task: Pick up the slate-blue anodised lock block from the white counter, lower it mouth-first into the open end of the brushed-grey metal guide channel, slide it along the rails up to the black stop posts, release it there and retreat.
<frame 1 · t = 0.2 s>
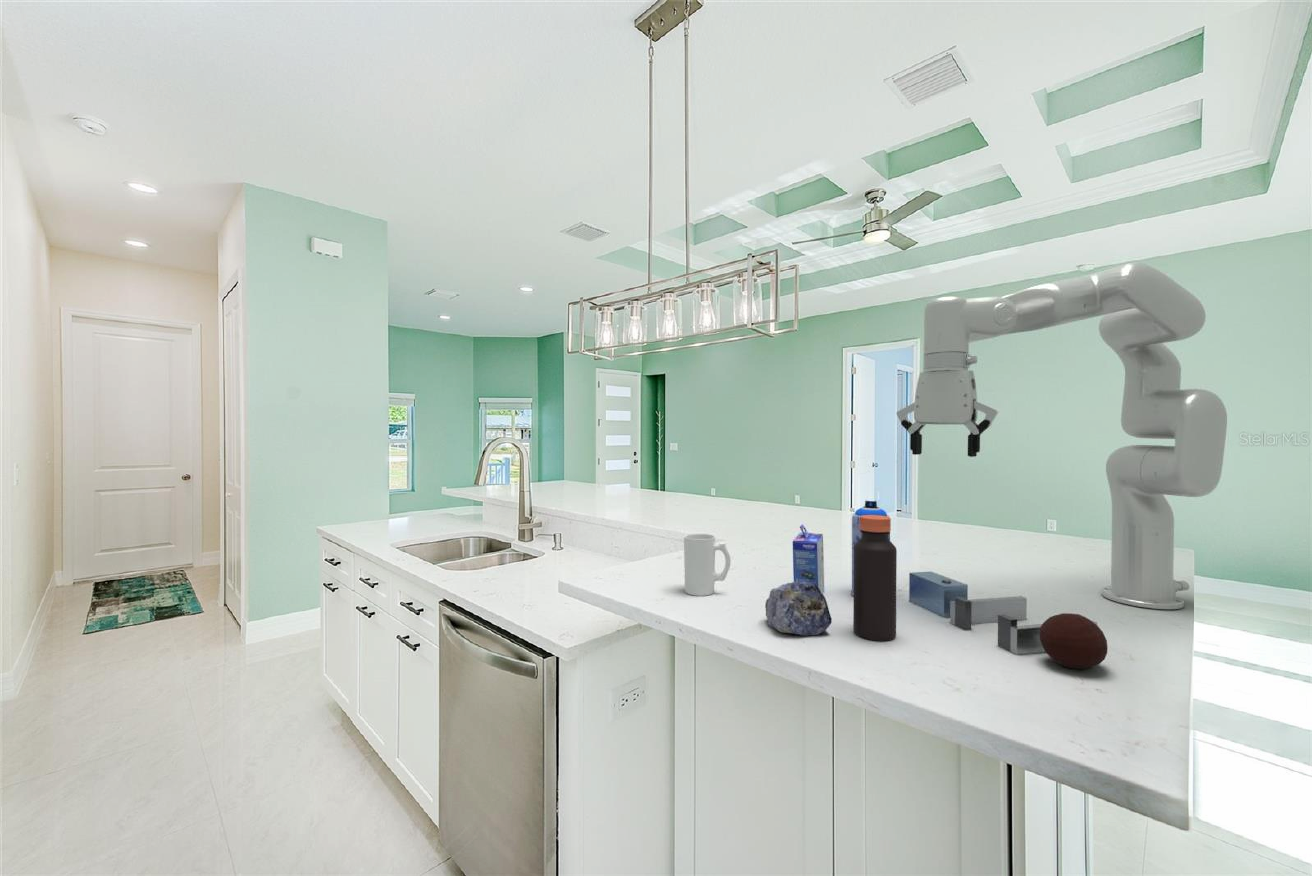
hand: (943, 455, 105), 30 cm above the table, fingers open, 9 cm apart
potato: (1073, 667, 82), on the table
aerosol can: (870, 596, 116), on the table
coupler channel: (1019, 634, 94), on the table
lock block: (937, 609, 108), on the table
ink cartridge box: (808, 594, 118), on the table
bottle: (874, 635, 94), on the table
rock: (793, 628, 98), on the table
mug: (707, 593, 119), on the table
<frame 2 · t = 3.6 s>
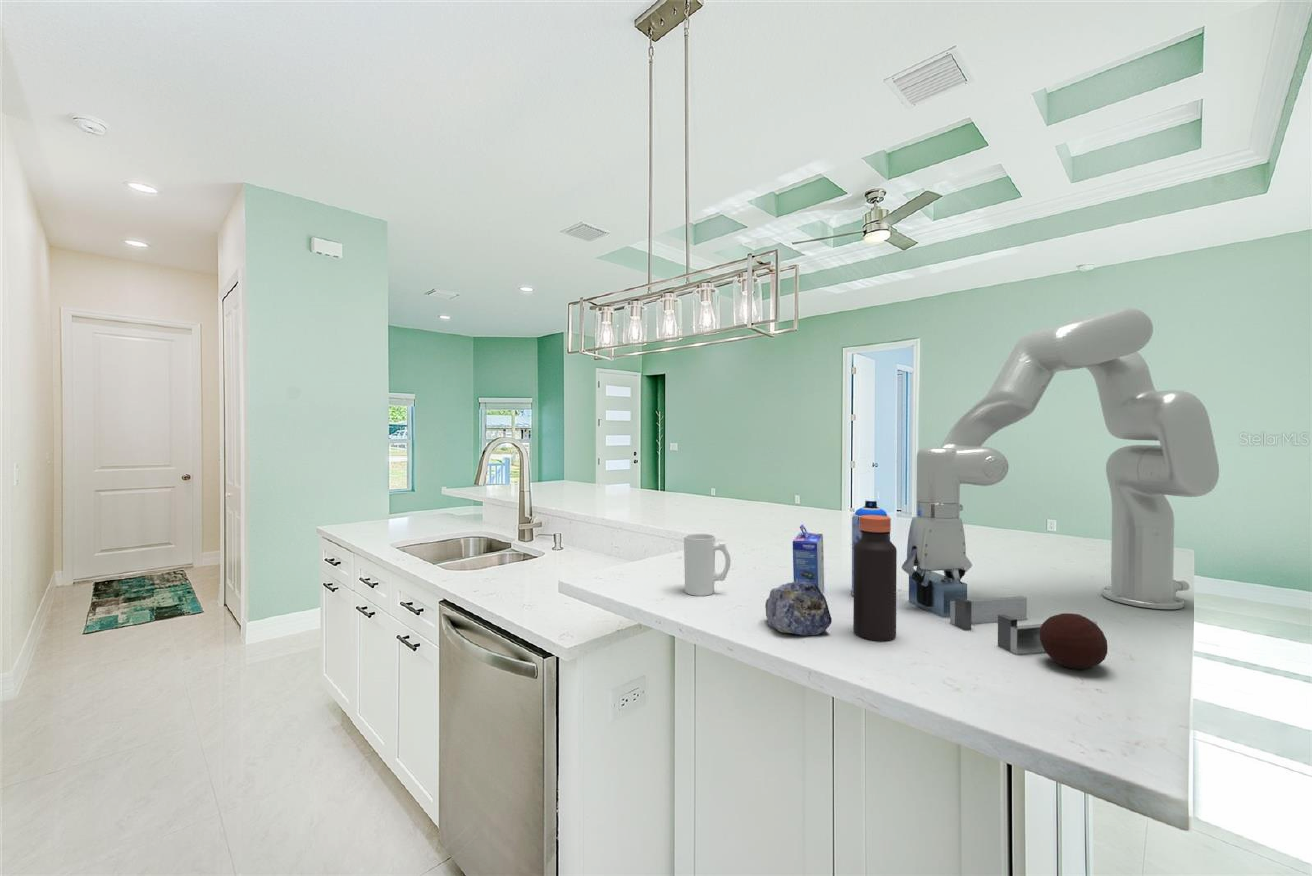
hand: (936, 603, 108), 1 cm above the table, fingers closed on lock block, 5 cm apart
lock block: (936, 608, 108), on the table, touching gripper
everything else where it was.
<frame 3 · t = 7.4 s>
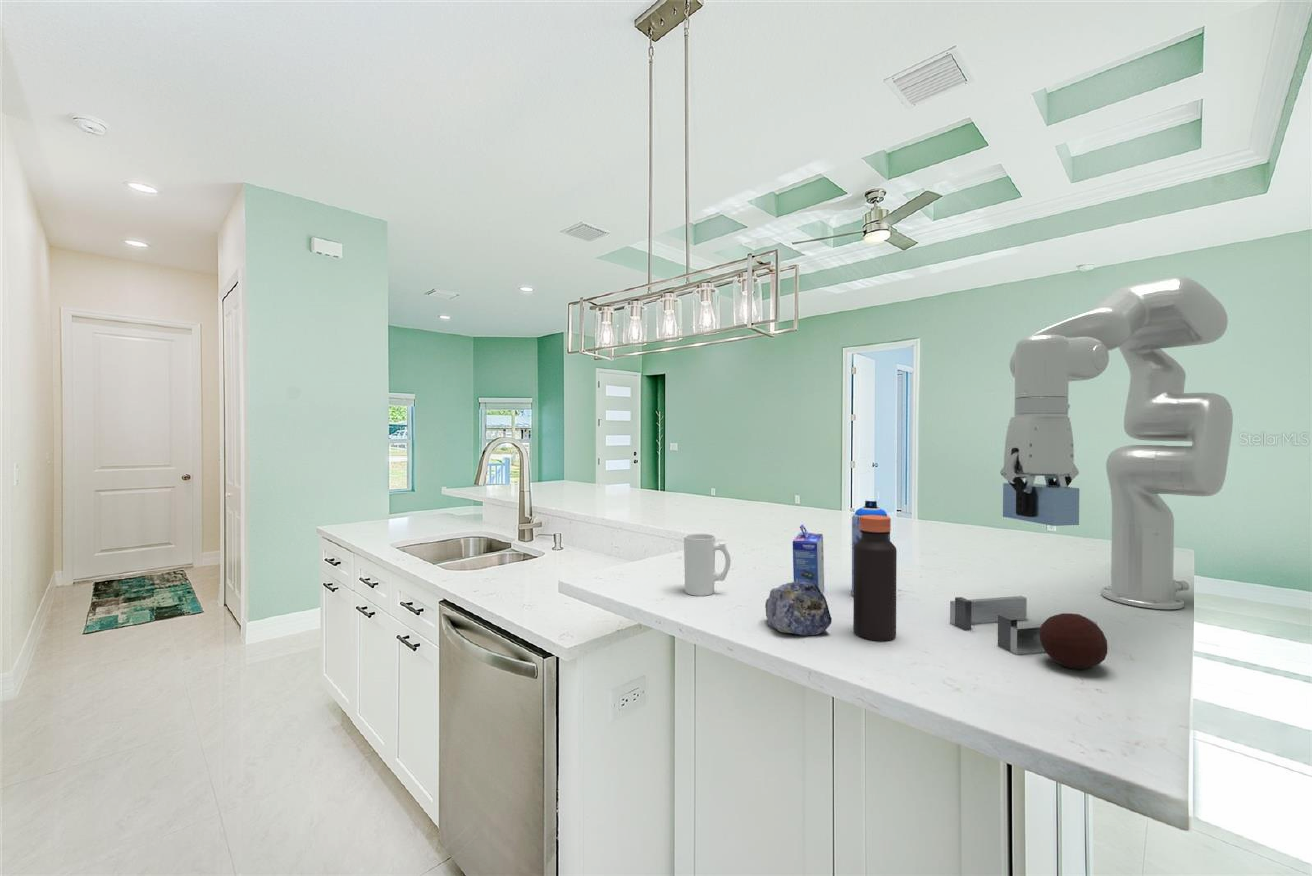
hand: (1039, 514, 95), 20 cm above the table, fingers closed on lock block, 5 cm apart
lock block: (1039, 520, 95), point 19 cm above the table, touching gripper
everything else where it was.
when the fingers open (1 cm above the table, at t = 11.5 s): lock block stays where it is, on the table.
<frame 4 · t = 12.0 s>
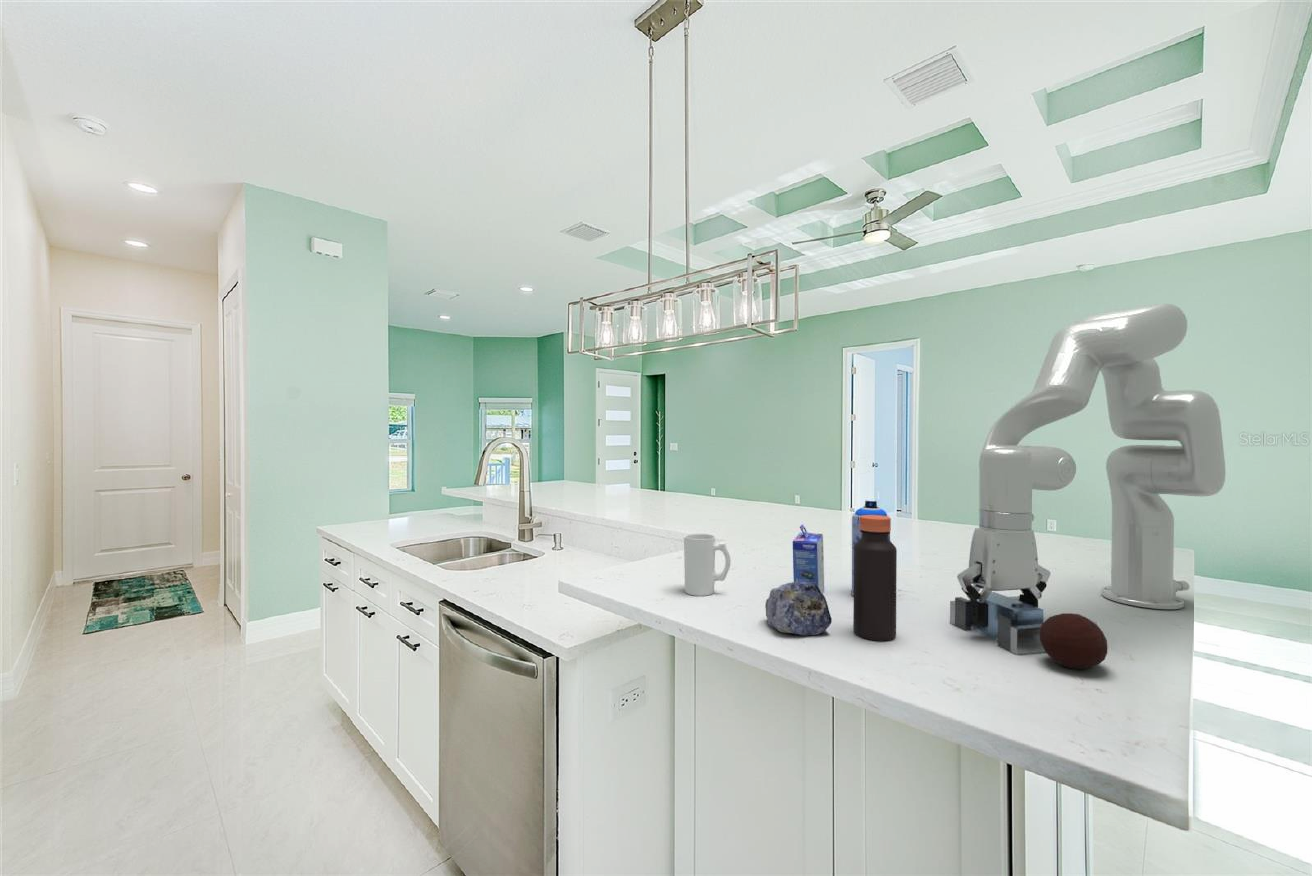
hand: (1004, 622, 93), 2 cm above the table, fingers open, 9 cm apart
lock block: (1004, 636, 94), on the table
everything else where it was.
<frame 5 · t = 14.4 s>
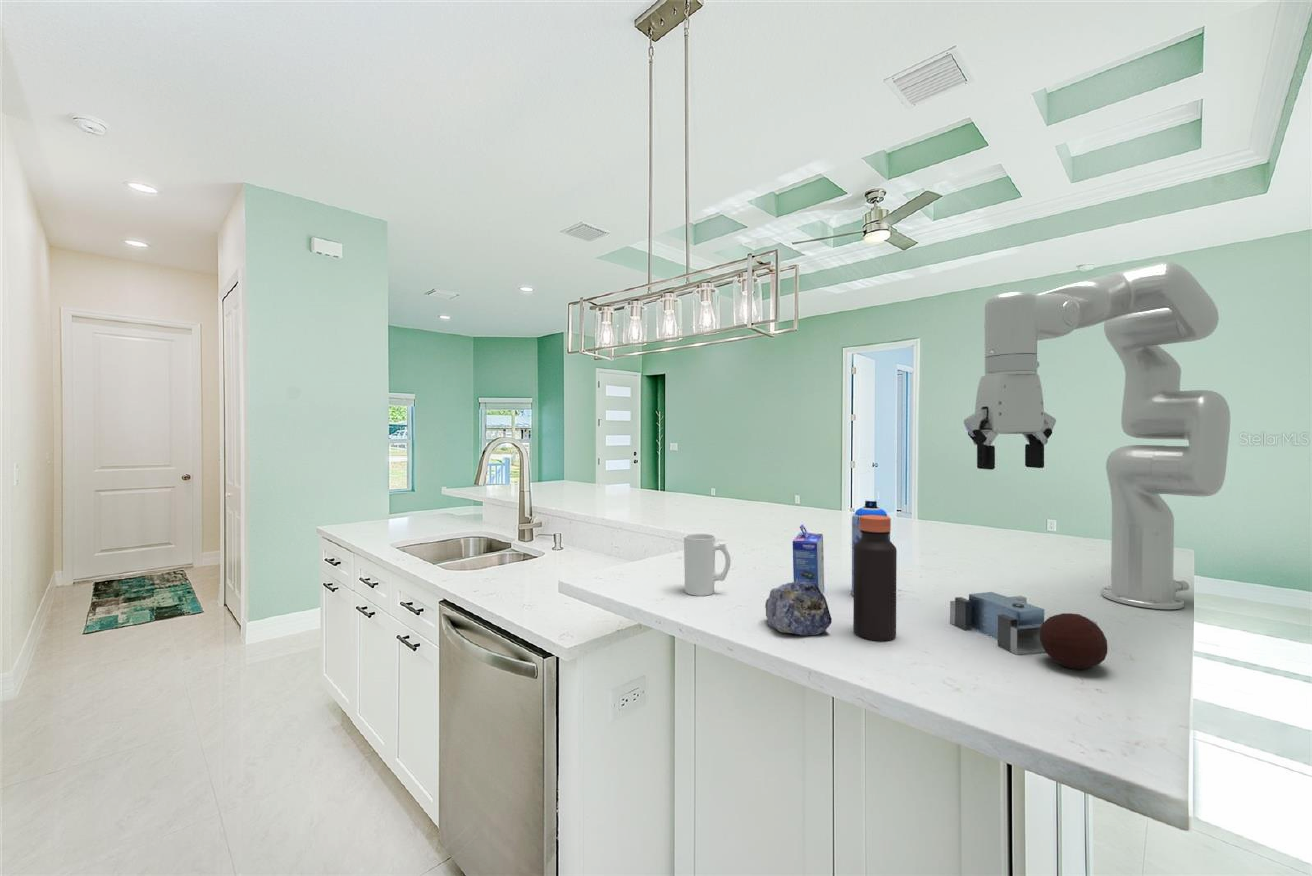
hand: (1010, 468, 94), 28 cm above the table, fingers open, 9 cm apart
nothing on the table moved.
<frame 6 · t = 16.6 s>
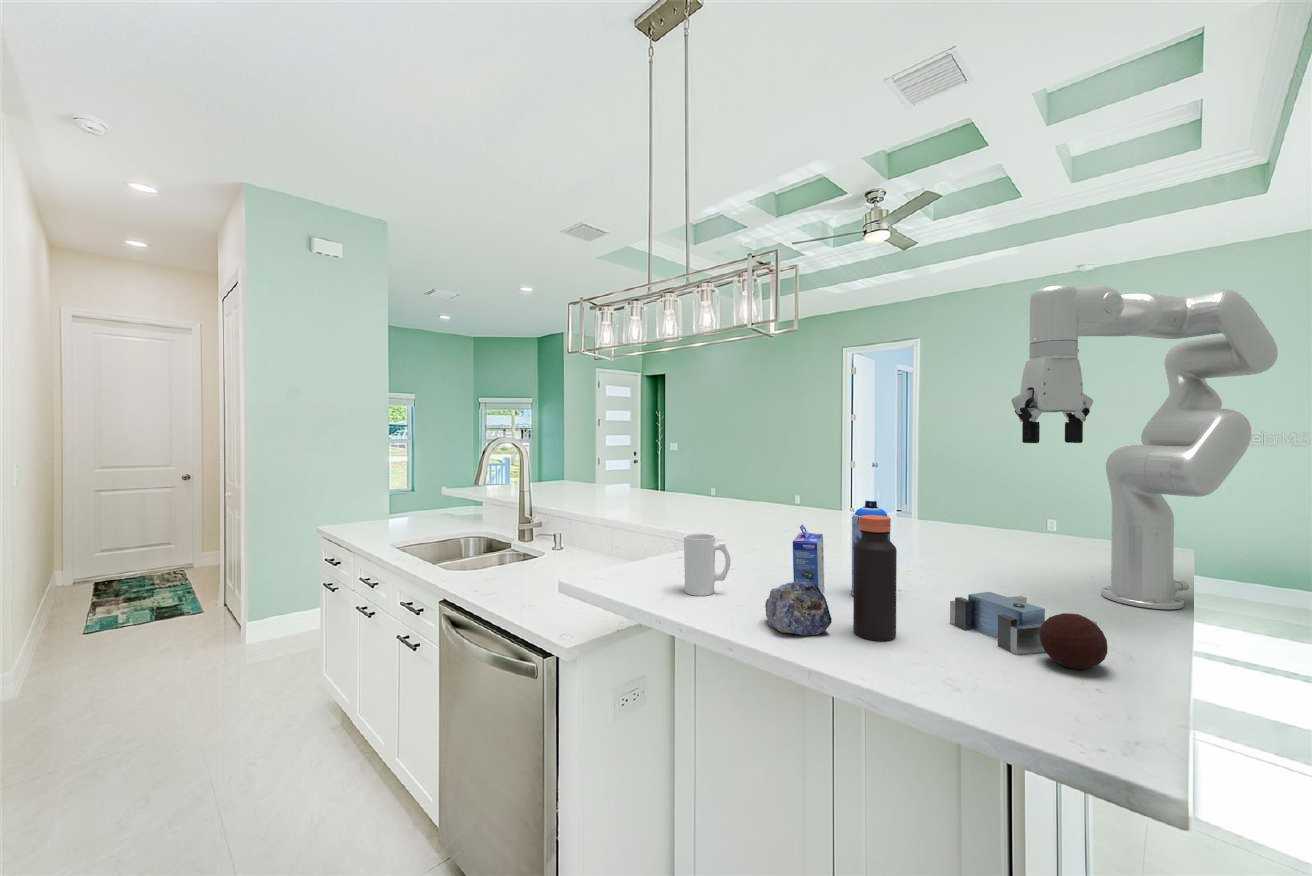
hand: (1052, 442, 106), 32 cm above the table, fingers open, 9 cm apart
nothing on the table moved.
at the end: lock block 0.2 cm from the target spot on the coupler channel, point 0.0 cm above the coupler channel's base; lock block tilted 0°; the gripper is holding nothing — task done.
